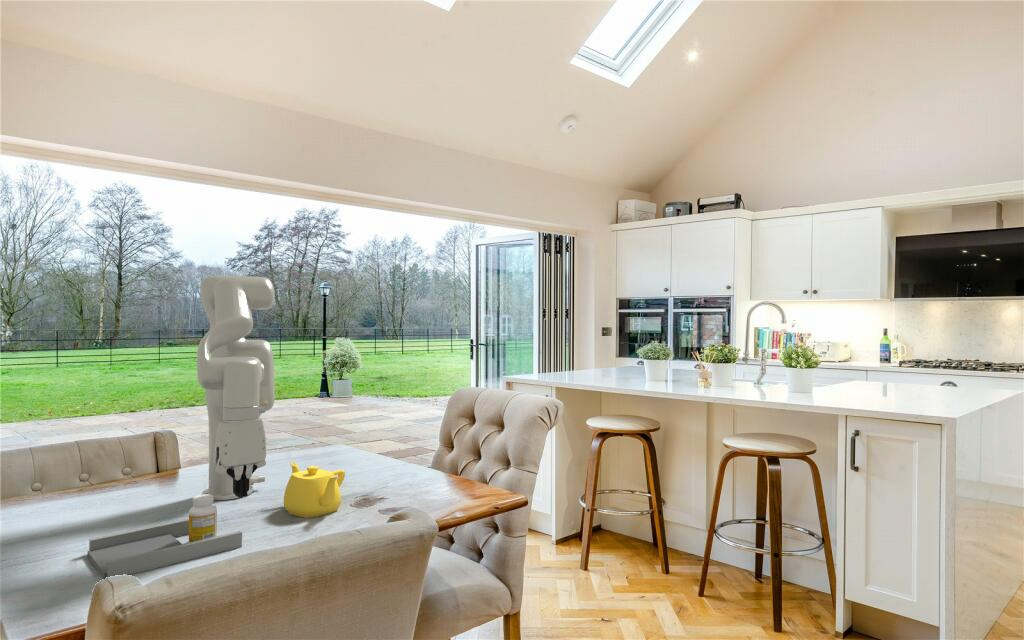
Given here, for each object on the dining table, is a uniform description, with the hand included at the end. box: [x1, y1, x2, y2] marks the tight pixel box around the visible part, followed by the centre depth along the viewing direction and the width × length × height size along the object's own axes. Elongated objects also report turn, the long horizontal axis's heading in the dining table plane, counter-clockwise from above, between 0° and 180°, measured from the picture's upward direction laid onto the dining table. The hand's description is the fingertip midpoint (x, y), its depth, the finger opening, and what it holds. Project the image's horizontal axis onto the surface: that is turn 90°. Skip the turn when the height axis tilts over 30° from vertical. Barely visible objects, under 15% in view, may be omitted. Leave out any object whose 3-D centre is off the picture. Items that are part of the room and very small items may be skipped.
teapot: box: [283, 462, 346, 518], centre depth 156 cm, size 22×16×11 cm
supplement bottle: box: [188, 494, 218, 543], centre depth 132 cm, size 5×5×10 cm
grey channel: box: [87, 518, 243, 579], centre depth 127 cm, size 24×17×3 cm
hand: (241, 495), depth 137 cm, fingers closed
